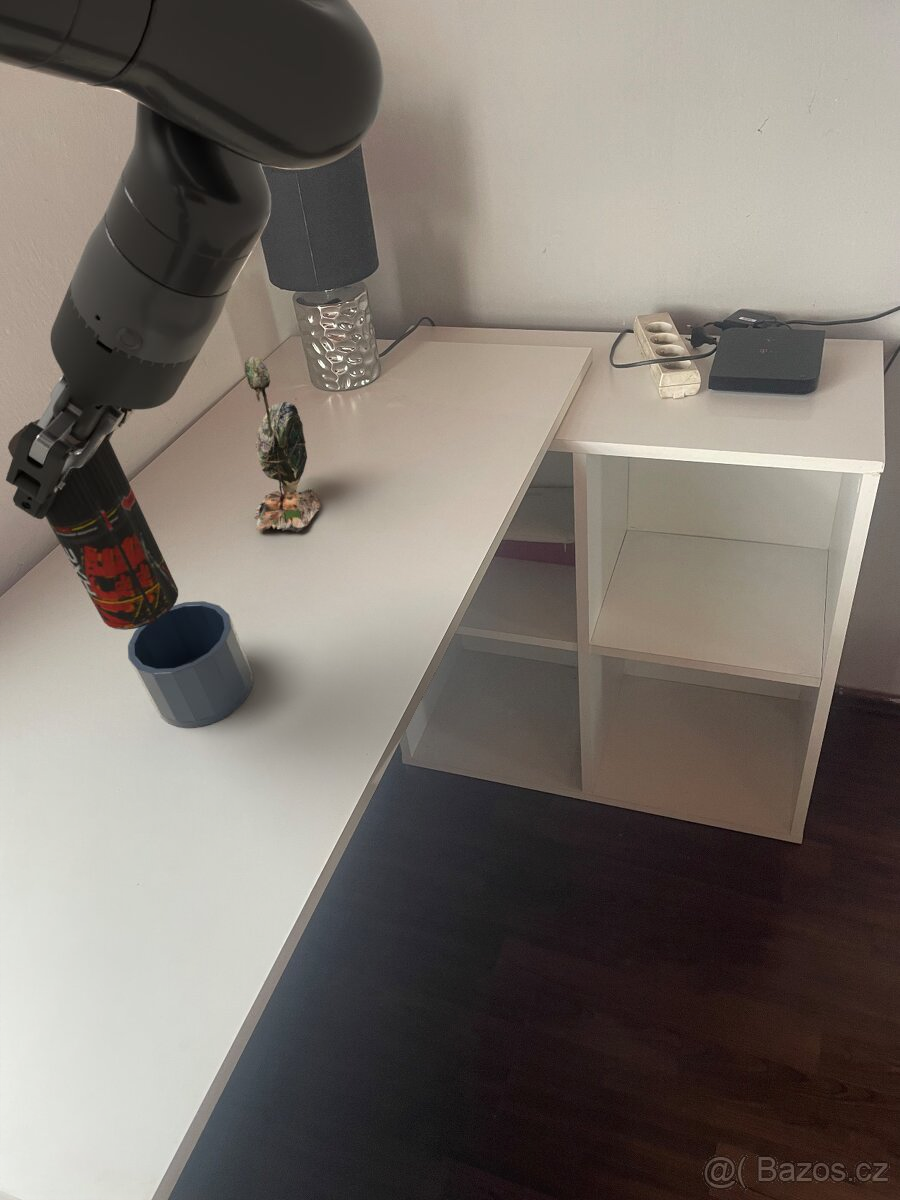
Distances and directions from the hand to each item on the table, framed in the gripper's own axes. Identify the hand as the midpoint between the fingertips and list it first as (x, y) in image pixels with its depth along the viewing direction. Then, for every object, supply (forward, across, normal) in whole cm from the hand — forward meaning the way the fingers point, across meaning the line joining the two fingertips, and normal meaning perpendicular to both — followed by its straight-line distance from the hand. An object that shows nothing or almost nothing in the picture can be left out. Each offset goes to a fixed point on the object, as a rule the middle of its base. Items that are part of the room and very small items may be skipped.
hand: (56, 480), depth 59 cm
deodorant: (+7, 0, +9) cm, 12 cm away
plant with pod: (+21, -33, +17) cm, 42 cm away
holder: (+19, -4, +18) cm, 27 cm away
